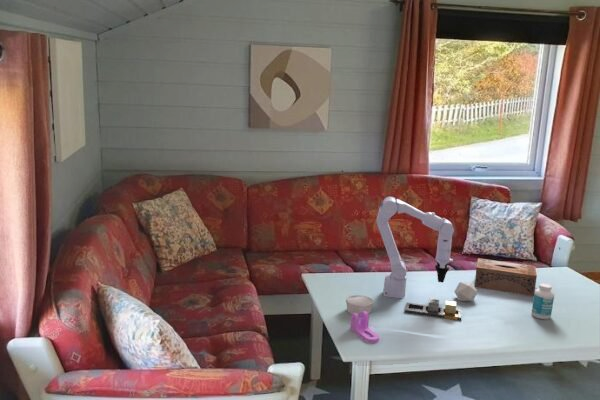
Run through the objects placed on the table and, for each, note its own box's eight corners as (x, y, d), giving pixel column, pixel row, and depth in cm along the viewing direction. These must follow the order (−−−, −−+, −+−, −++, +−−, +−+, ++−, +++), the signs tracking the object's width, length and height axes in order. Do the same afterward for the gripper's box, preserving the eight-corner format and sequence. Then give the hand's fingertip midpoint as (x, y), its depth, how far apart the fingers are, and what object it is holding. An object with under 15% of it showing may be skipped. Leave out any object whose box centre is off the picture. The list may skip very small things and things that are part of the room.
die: (472, 308, 233) (484, 288, 234) (454, 296, 233) (466, 276, 235) (465, 307, 241) (477, 287, 243) (448, 295, 242) (459, 276, 243)
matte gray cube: (427, 313, 222) (428, 302, 221) (428, 309, 225) (429, 298, 224) (437, 315, 221) (439, 303, 220) (438, 311, 224) (439, 299, 223)
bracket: (350, 329, 208) (351, 311, 206) (362, 326, 210) (363, 309, 208) (368, 344, 196) (370, 326, 195) (381, 341, 199) (383, 323, 197)
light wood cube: (444, 316, 220) (445, 304, 219) (444, 312, 224) (445, 300, 223) (454, 317, 219) (456, 305, 218) (454, 313, 223) (456, 301, 222)
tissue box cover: (532, 286, 260) (535, 266, 258) (533, 296, 247) (536, 275, 245) (475, 277, 269) (477, 258, 267) (474, 287, 256) (476, 267, 253)
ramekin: (357, 304, 231) (358, 292, 230) (378, 312, 223) (379, 300, 222) (339, 311, 223) (340, 299, 222) (360, 320, 215) (361, 308, 214)
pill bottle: (542, 321, 221) (546, 289, 218) (527, 314, 227) (531, 283, 224) (554, 318, 224) (559, 287, 221) (539, 311, 231) (544, 281, 228)
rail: (404, 314, 222) (404, 309, 222) (406, 306, 230) (406, 302, 229) (460, 322, 217) (461, 317, 216) (460, 314, 224) (461, 309, 224)
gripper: (453, 254, 225) (450, 285, 228) (453, 245, 239) (450, 274, 242) (436, 252, 227) (433, 283, 230) (437, 243, 240) (434, 272, 243)
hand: (440, 278), depth 236 cm, fingers open, 7 cm apart
